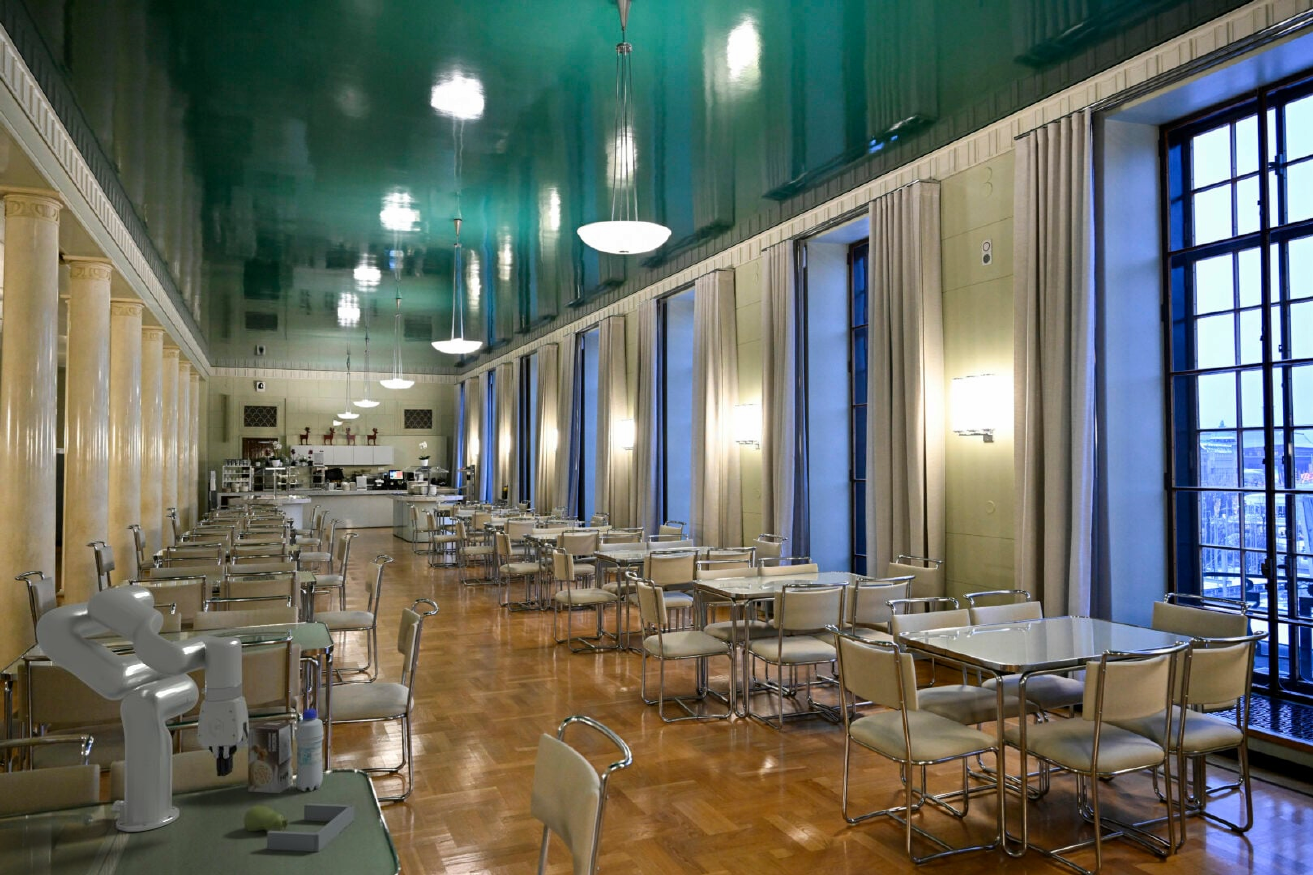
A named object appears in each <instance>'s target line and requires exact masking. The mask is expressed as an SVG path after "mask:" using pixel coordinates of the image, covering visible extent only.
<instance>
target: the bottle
mask: <svg viewBox="0 0 1313 875" xmlns="http://www.w3.org/2000/svg"><path fill="white" fill-rule="evenodd" d="M317 717H318V713H317V710H316V708H315V709H314V708H307V709H305V710H304V711H303V712H302V720H301V721H298V722H297V725H296V732H295V742H296V744H297V746H296V747H297V748H296V756H297V757H296V760H297V761H296V764H297V765H296V778H295V782H296V787H297V789H298V790H299V791H302V792H306V791H307V788H309V791H310V792H313V791H314V789H315V790H318V789H319V788H320V787H321V785H322V783H323V778H324V774H323V773H324V772H323V740H324V738H325V737H324V734H325V731H324V726H323V721H322V720H321V719H319V718H317Z"/></svg>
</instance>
